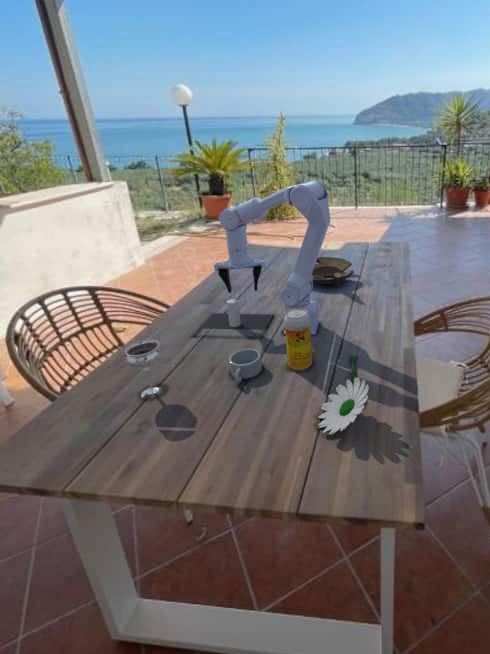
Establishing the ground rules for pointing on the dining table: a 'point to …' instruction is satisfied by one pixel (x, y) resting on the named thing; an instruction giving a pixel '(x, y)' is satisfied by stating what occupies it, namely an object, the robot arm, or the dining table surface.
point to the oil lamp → (331, 270)
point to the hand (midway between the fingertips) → (243, 290)
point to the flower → (344, 404)
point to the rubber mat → (246, 320)
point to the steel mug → (245, 364)
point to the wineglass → (144, 359)
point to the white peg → (233, 312)
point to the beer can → (298, 338)
